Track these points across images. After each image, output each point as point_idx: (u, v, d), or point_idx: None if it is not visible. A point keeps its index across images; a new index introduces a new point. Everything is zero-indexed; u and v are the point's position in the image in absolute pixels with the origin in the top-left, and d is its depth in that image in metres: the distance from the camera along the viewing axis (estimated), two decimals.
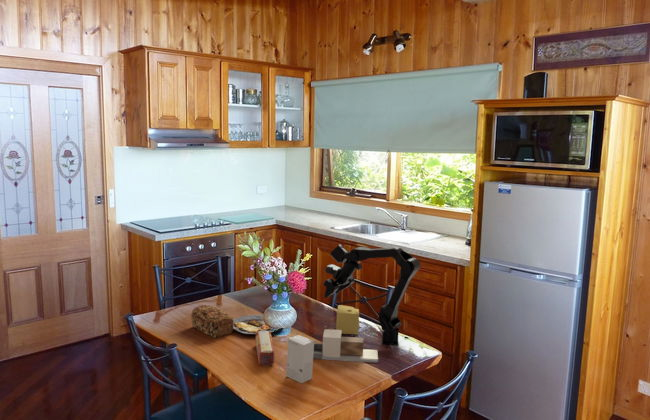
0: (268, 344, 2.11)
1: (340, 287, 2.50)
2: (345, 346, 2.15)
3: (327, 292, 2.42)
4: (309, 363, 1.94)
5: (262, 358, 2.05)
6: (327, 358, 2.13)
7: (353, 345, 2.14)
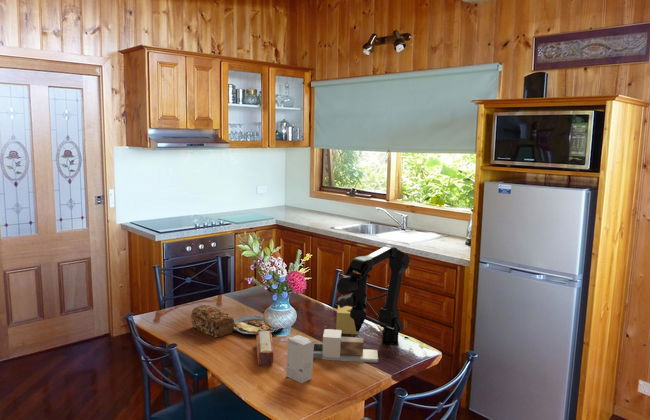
0: (268, 345, 2.11)
1: None
2: (345, 346, 2.15)
3: (357, 323, 2.10)
4: (309, 363, 1.94)
5: (261, 358, 2.05)
6: (327, 358, 2.13)
7: (353, 345, 2.14)
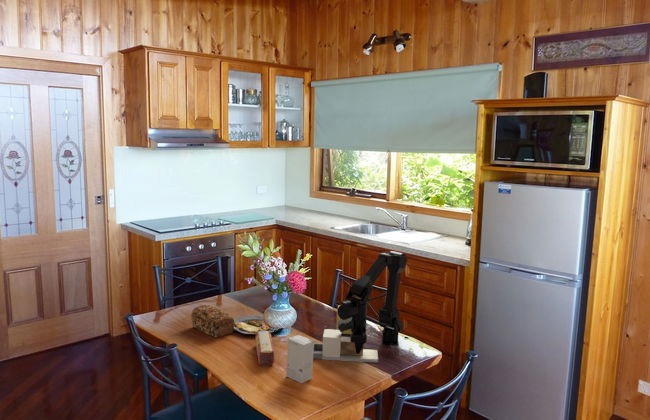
0: (268, 345, 2.11)
1: None
2: (345, 346, 2.15)
3: (358, 346, 2.13)
4: (309, 363, 1.94)
5: (262, 358, 2.05)
6: (327, 358, 2.13)
7: (353, 345, 2.14)
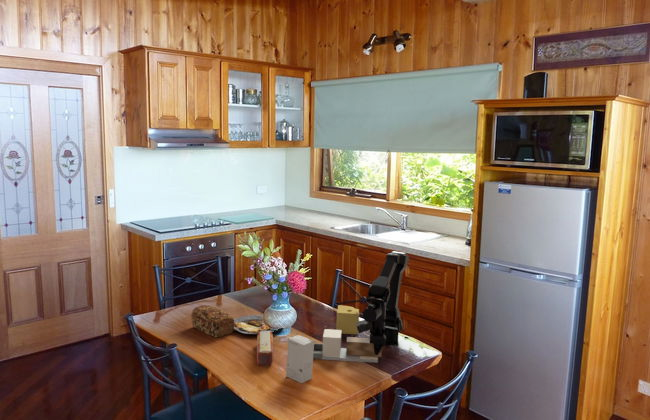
0: (268, 345, 2.11)
1: None
2: (364, 347, 2.14)
3: (377, 347, 2.12)
4: (309, 363, 1.94)
5: (260, 358, 2.05)
6: (327, 358, 2.13)
7: (372, 346, 2.14)
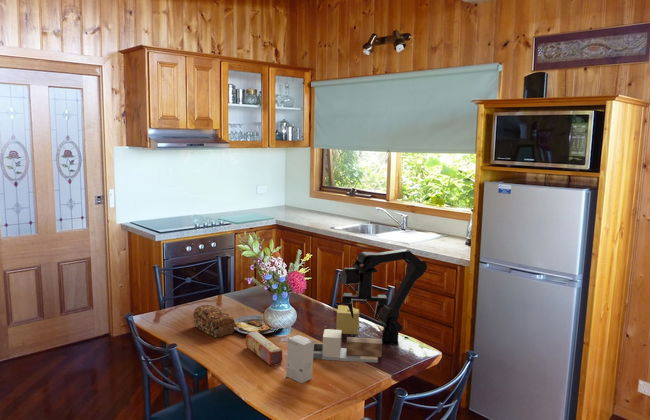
0: (271, 344, 2.12)
1: (375, 311, 2.25)
2: (364, 347, 2.14)
3: None
4: (309, 363, 1.94)
5: (272, 358, 2.06)
6: (327, 358, 2.13)
7: (372, 346, 2.14)
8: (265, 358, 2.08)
